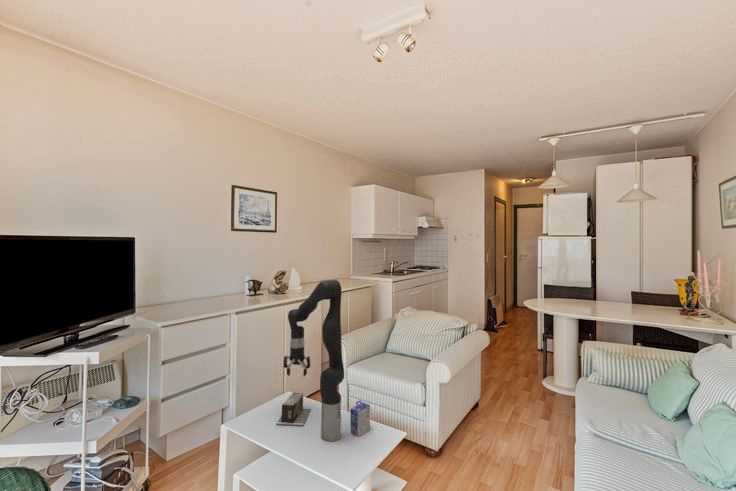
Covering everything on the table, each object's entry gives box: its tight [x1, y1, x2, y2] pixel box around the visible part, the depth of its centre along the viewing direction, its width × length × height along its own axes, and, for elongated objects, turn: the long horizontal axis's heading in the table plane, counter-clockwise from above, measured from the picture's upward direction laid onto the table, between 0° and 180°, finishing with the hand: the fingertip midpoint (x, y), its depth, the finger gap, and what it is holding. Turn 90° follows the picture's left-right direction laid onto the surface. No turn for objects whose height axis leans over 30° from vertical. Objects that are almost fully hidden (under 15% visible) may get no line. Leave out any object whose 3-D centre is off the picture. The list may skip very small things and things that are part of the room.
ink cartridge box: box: [350, 399, 371, 438], centre depth 168 cm, size 10×6×14 cm, turn 142°
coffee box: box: [281, 391, 304, 423], centre depth 180 cm, size 9×6×16 cm
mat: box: [276, 407, 312, 427], centre depth 180 cm, size 14×18×1 cm
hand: (296, 375), depth 183 cm, fingers open, 8 cm apart
